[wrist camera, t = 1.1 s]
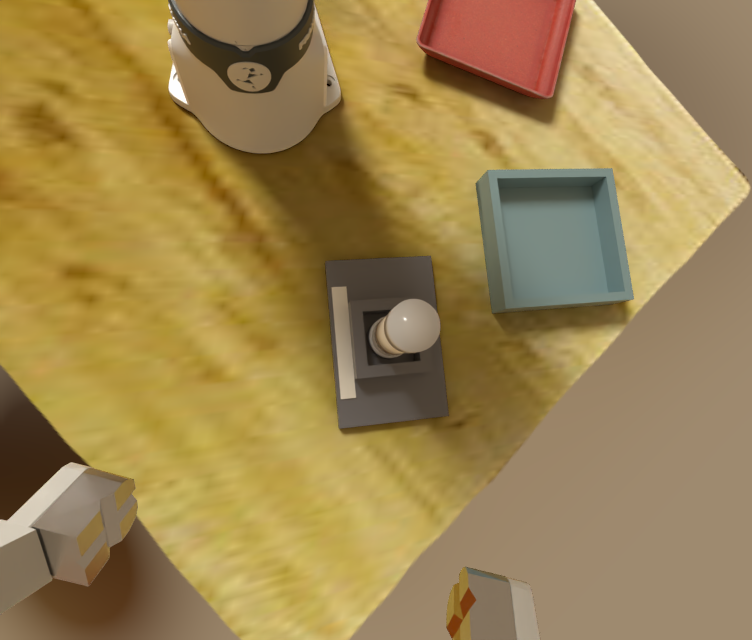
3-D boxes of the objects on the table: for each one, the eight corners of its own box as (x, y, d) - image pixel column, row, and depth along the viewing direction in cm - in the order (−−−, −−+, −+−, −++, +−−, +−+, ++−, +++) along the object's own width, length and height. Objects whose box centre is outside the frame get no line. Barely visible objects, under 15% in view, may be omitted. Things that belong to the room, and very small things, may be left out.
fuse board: (325, 263, 48) (326, 254, 44) (428, 258, 50) (437, 249, 47) (338, 427, 46) (341, 431, 42) (445, 415, 48) (456, 417, 44)
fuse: (365, 319, 47) (385, 300, 35) (404, 317, 48) (437, 297, 36) (369, 360, 46) (391, 354, 35) (408, 356, 47) (443, 349, 35)
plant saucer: (566, 1, 59) (582, -21, 55) (539, 115, 56) (553, 99, 52) (443, -52, 56) (452, -79, 53) (407, 63, 53) (414, 43, 50)
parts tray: (475, 183, 52) (487, 170, 49) (593, 181, 55) (612, 168, 52) (492, 313, 50) (505, 308, 47) (612, 304, 53) (634, 299, 50)
